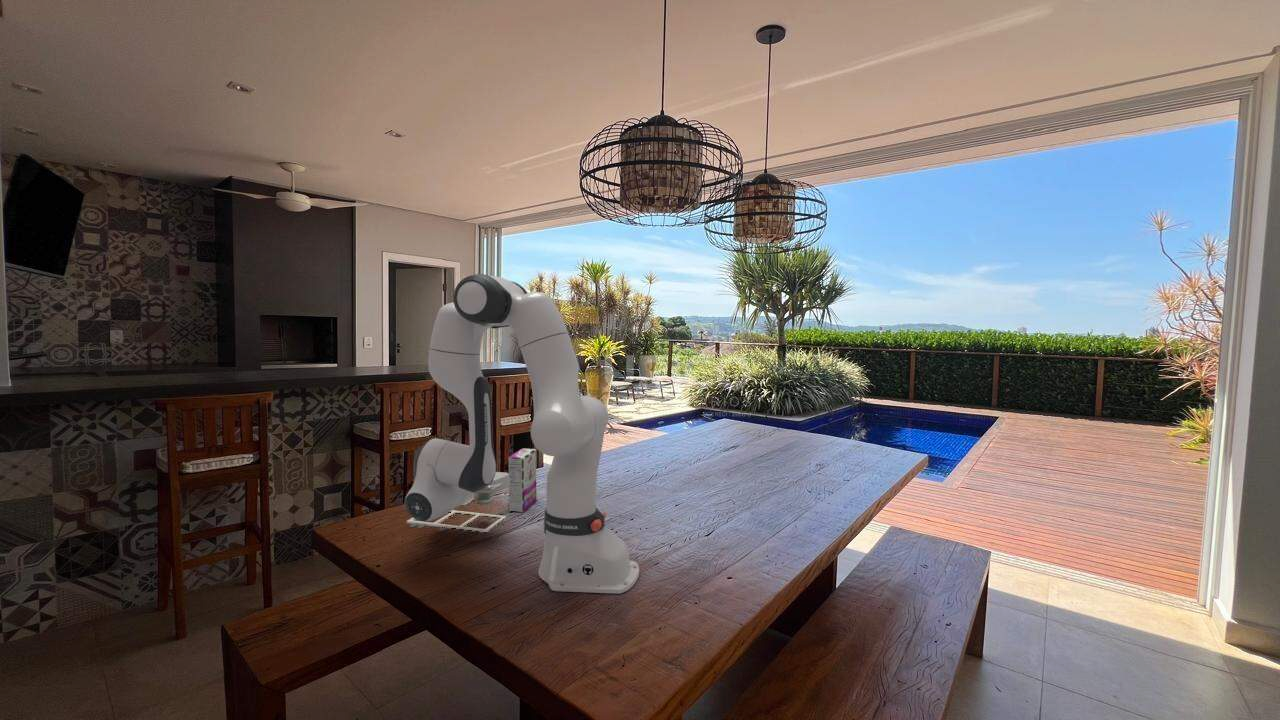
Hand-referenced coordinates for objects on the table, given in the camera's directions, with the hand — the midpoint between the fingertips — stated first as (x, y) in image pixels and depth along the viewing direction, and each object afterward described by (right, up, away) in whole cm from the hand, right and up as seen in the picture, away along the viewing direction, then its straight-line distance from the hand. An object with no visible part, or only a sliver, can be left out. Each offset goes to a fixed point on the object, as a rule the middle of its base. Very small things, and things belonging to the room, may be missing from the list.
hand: (485, 472), depth 149 cm
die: (-12, -13, +17) cm, 25 cm away
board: (-9, -14, +1) cm, 16 cm away
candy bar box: (+7, -14, +15) cm, 21 cm away
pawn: (0, -8, 0) cm, 8 cm away
